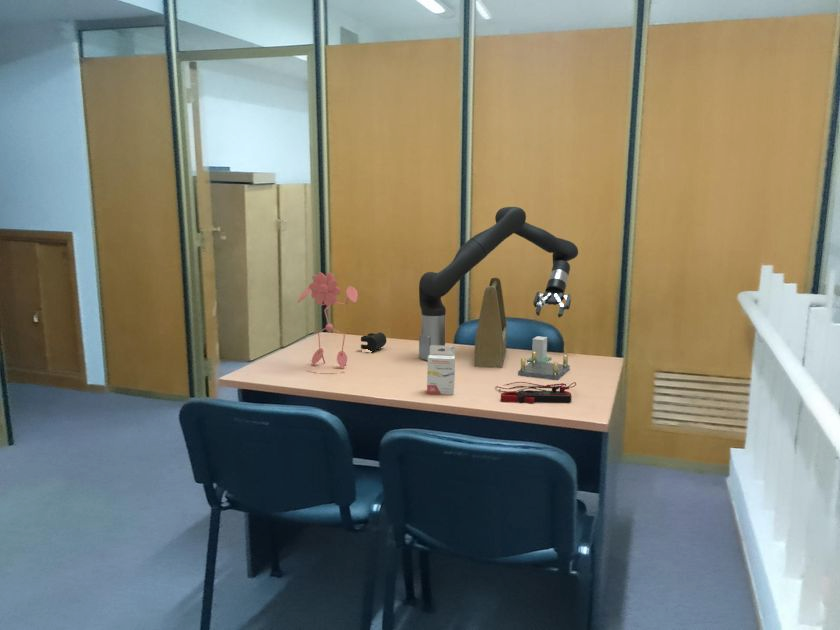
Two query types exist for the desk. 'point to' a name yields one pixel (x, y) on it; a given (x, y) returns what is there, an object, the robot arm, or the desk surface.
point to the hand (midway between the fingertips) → (548, 315)
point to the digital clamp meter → (537, 394)
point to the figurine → (326, 293)
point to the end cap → (373, 341)
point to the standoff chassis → (544, 368)
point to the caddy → (491, 328)
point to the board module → (540, 349)
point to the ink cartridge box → (441, 370)
